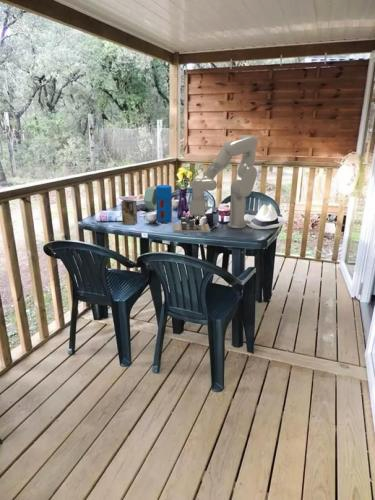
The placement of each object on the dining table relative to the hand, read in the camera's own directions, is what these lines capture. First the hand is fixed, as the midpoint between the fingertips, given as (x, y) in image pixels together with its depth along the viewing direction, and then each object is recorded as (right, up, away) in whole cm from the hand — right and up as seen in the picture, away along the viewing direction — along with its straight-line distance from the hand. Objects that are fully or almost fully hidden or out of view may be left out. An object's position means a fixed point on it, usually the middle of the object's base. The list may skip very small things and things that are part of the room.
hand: (197, 224), depth 236 cm
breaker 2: (-9, -3, -6) cm, 11 cm away
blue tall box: (-23, +4, +18) cm, 30 cm away
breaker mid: (-4, -1, 0) cm, 4 cm away
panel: (-4, -3, +1) cm, 5 cm away
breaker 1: (-9, +1, +5) cm, 11 cm away
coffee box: (-47, +2, +11) cm, 48 cm away
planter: (-33, +17, +52) cm, 65 cm away
